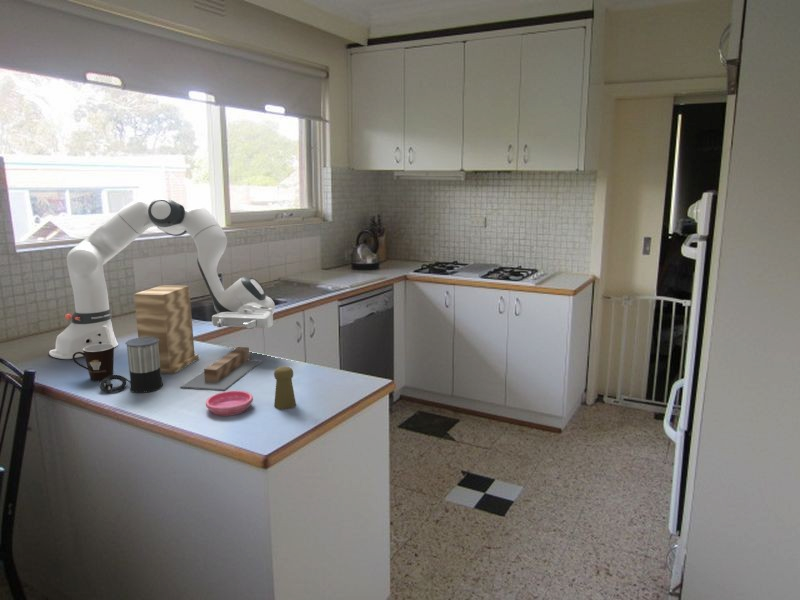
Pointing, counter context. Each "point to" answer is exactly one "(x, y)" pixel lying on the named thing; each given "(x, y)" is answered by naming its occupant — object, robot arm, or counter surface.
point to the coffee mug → (98, 360)
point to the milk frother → (139, 367)
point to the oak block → (167, 324)
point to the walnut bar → (226, 364)
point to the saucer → (229, 402)
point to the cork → (284, 388)
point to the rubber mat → (224, 382)
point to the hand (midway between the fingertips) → (232, 325)
